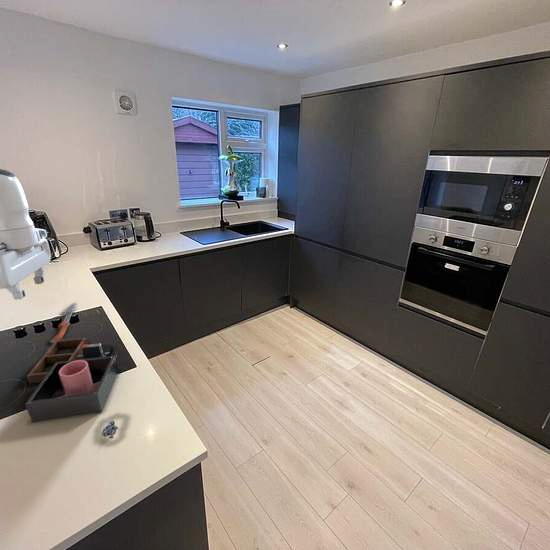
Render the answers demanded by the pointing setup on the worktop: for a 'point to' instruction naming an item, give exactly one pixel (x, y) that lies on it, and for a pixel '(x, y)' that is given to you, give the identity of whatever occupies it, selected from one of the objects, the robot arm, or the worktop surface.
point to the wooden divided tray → (56, 357)
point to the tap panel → (106, 353)
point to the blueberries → (110, 429)
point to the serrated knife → (63, 324)
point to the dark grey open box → (69, 406)
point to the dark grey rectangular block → (92, 350)
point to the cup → (76, 378)
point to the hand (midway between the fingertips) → (30, 290)
